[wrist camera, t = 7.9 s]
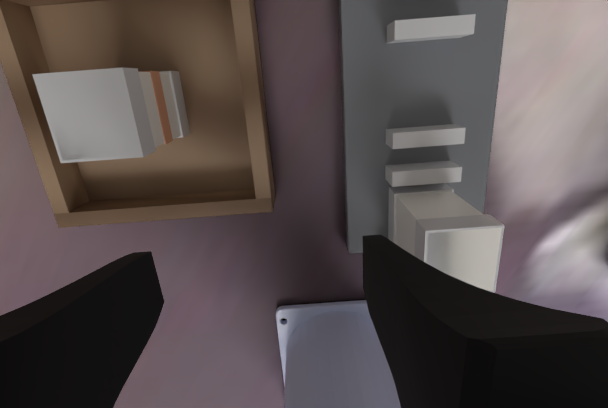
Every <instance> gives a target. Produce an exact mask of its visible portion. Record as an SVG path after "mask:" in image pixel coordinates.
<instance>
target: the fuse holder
mask: <svg viewBox="0 0 608 408" xmlns="http://www.w3.org/2000/svg"><path fill="white" fill-rule="evenodd" d="M338 3H339V32H340V62H341V91H342V121H343V150H344V180H345V209H346V239H347V249H348V252H349V254H355V253H363V236H367V235H380V234H381V235H383V236H384V237H386V238H387V239H389V238H388V214H389V187H399V186H413V185H426V184H439V183H445V184H447V185H448V186H450V187H451V188H453V189H454V193H455V194H456V195H458V196H459V197H460V198H462V199H463V200H464V201H466V202H467V203H469V204H470V205H471V206H473V207H474V208H476V209H477V210H478V211H480V212H481V213H482V214H483V211H484V203H485V194H486V185H487V177H488V168H489V159H490V150H491V142H492V133H493V124H494V116H495V107H496V98H497V90H498V81H499V72H500V63H501V55H502V46H503V37H504V29H505V20H506V11H507V3H508V0H338Z"/></svg>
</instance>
